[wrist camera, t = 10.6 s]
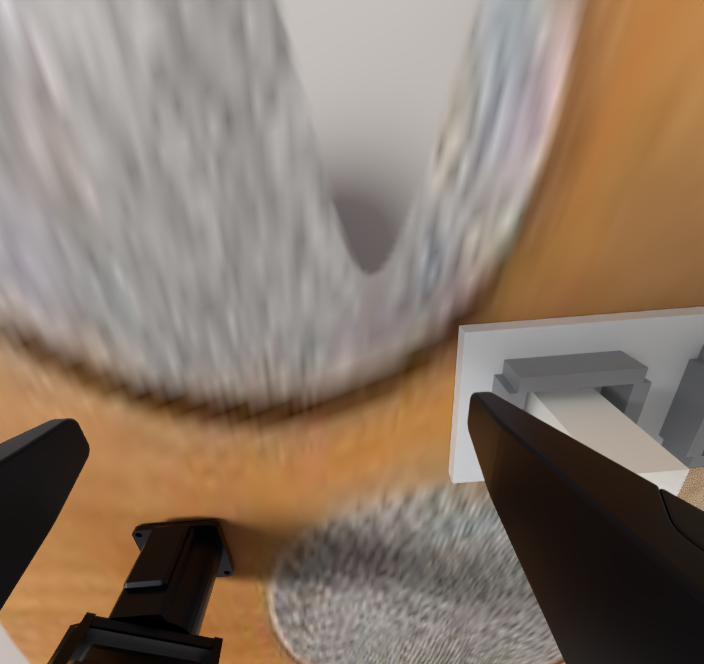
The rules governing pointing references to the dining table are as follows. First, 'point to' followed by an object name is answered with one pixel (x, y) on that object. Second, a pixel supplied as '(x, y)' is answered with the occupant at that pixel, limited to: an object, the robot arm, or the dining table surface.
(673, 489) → the cream rectangular block
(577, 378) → the housing
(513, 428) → the robot arm
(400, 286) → the dining table surface
